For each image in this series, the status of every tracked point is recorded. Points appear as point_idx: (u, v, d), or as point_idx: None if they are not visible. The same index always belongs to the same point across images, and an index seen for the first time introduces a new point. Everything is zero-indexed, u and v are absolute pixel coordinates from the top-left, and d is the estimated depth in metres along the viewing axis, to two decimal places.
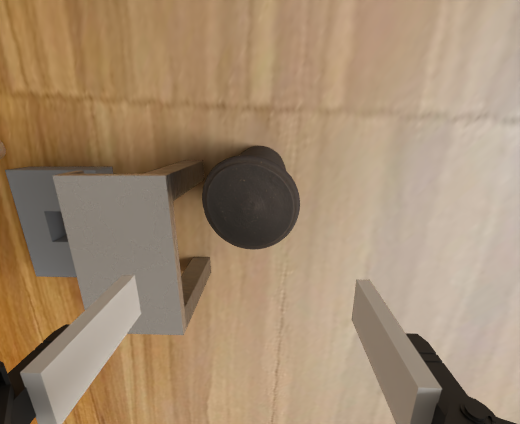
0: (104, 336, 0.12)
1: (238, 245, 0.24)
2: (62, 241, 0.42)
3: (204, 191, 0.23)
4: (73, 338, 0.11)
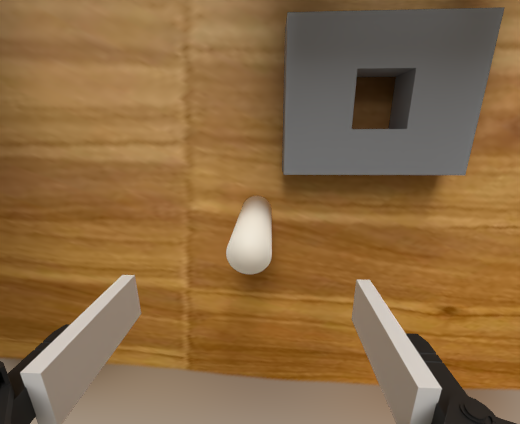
0: (104, 336, 0.12)
1: None
2: (407, 113, 0.25)
3: None
4: (73, 338, 0.11)
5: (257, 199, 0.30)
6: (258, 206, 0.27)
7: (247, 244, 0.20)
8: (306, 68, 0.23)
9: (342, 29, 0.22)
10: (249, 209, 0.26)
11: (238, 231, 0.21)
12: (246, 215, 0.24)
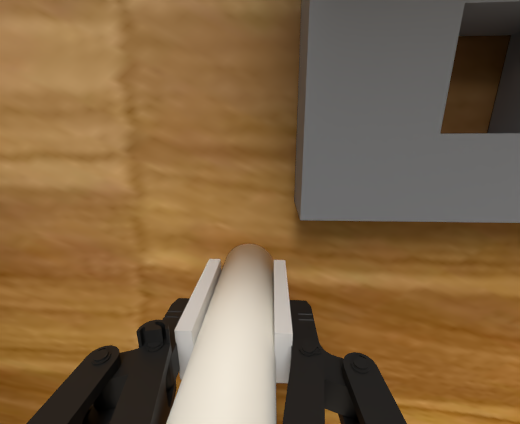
0: None
1: None
2: None
3: None
4: (200, 306, 0.13)
5: (250, 254, 0.17)
6: (250, 277, 0.14)
7: None
8: (352, 5, 0.11)
9: None
10: (231, 290, 0.13)
11: (189, 399, 0.08)
12: (221, 314, 0.11)
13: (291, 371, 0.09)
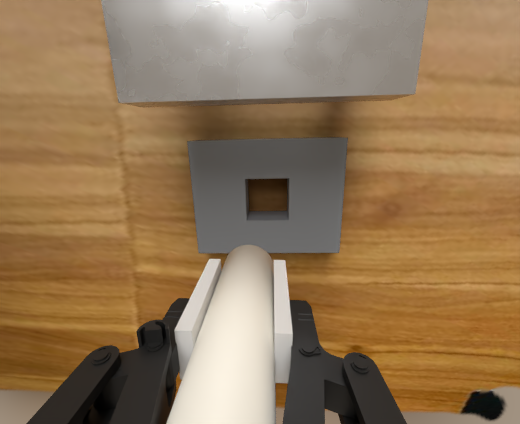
0: None
1: None
2: (288, 208, 0.32)
3: None
4: (200, 306, 0.13)
5: (250, 255, 0.17)
6: (250, 278, 0.14)
7: None
8: (206, 179, 0.31)
9: (229, 152, 0.30)
10: (230, 291, 0.13)
11: (188, 401, 0.08)
12: (221, 315, 0.11)
13: (291, 371, 0.09)
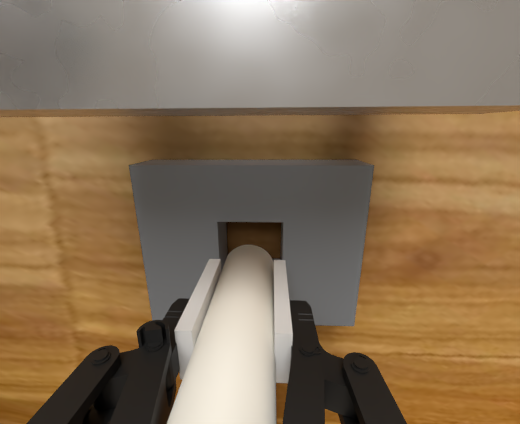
0: None
1: None
2: None
3: None
4: (200, 306, 0.13)
5: (250, 255, 0.17)
6: (250, 278, 0.14)
7: None
8: (159, 220, 0.21)
9: (193, 183, 0.20)
10: (231, 291, 0.13)
11: (189, 401, 0.08)
12: (221, 315, 0.11)
13: (291, 371, 0.09)
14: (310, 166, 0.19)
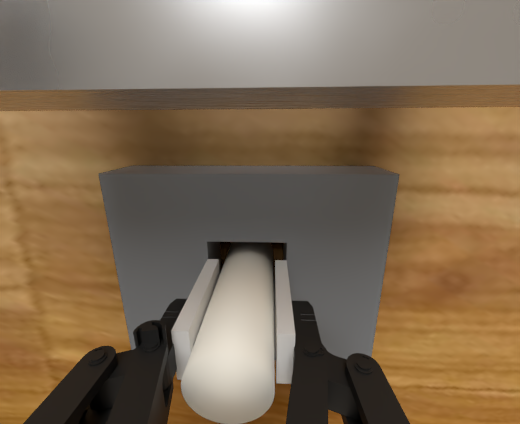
0: None
1: None
2: None
3: None
4: (197, 306, 0.13)
5: None
6: (252, 257, 0.17)
7: (223, 373, 0.10)
8: (137, 240, 0.17)
9: (177, 195, 0.16)
10: (236, 266, 0.16)
11: (207, 338, 0.10)
12: (229, 283, 0.14)
13: (294, 371, 0.09)
14: (320, 175, 0.15)
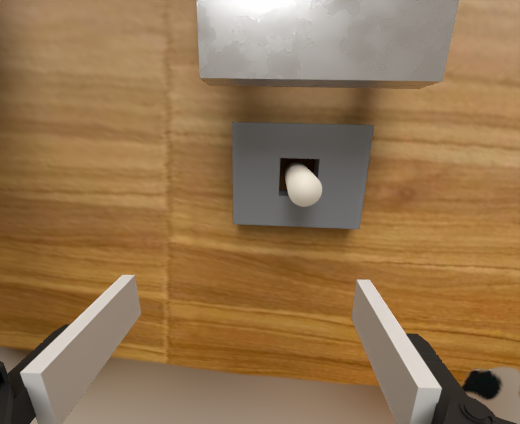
0: (104, 336, 0.12)
1: None
2: None
3: None
4: (73, 338, 0.11)
5: (299, 163, 0.37)
6: (303, 165, 0.34)
7: (304, 182, 0.27)
8: (245, 156, 0.35)
9: (268, 133, 0.34)
10: (297, 166, 0.33)
11: (296, 174, 0.28)
12: (296, 168, 0.31)
13: None
14: (337, 124, 0.33)
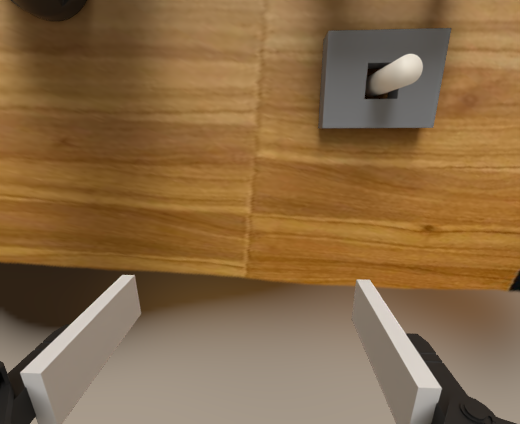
0: (104, 336, 0.12)
1: None
2: (397, 89, 0.41)
3: None
4: (73, 338, 0.11)
5: None
6: None
7: (408, 62, 0.33)
8: (338, 63, 0.40)
9: (359, 40, 0.39)
10: None
11: (399, 58, 0.34)
12: None
13: None
14: (419, 29, 0.39)
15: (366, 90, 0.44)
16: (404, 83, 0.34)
